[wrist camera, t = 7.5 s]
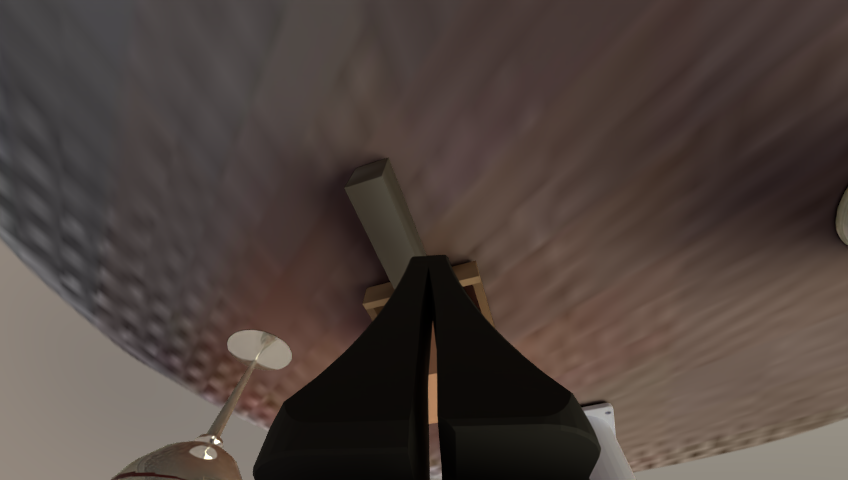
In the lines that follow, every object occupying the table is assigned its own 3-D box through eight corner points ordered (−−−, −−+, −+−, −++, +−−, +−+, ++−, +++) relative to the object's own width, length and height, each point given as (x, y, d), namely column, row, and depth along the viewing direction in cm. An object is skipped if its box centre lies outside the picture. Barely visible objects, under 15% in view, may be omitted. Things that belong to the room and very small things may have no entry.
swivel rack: (440, 140, 15) (443, 156, 13) (497, 337, 22) (505, 369, 20) (308, 183, 16) (289, 205, 14) (404, 356, 24) (402, 388, 21)
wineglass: (320, 361, 25) (246, 579, 14) (260, 385, 26) (156, 593, 16) (259, 309, 22) (109, 540, 11) (196, 340, 23) (18, 562, 13)
